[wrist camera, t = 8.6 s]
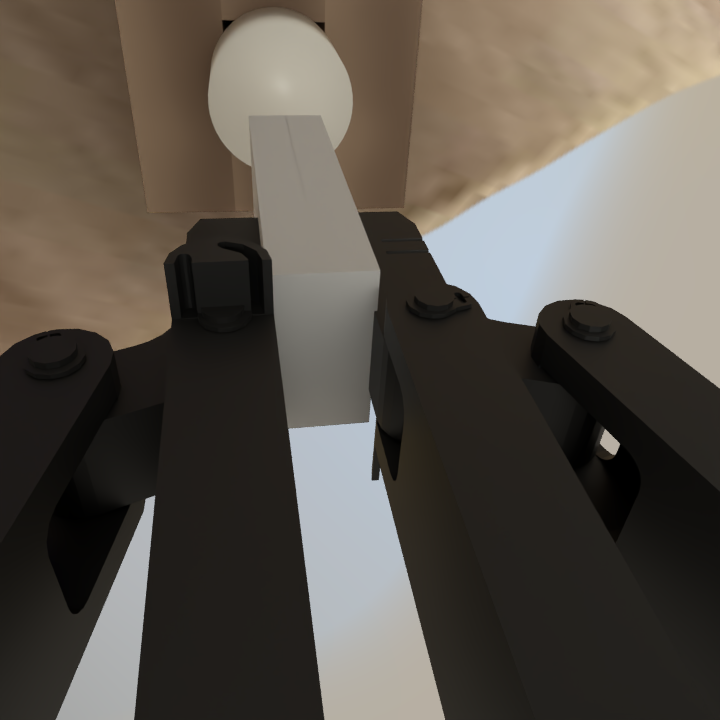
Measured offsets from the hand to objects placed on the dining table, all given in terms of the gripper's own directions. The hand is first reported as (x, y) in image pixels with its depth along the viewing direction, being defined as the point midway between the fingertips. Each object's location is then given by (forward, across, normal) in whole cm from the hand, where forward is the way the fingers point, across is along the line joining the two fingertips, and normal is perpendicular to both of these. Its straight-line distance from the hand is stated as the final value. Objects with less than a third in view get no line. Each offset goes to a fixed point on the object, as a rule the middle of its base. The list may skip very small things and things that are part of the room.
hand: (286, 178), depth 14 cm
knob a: (+16, +1, -1) cm, 16 cm away
